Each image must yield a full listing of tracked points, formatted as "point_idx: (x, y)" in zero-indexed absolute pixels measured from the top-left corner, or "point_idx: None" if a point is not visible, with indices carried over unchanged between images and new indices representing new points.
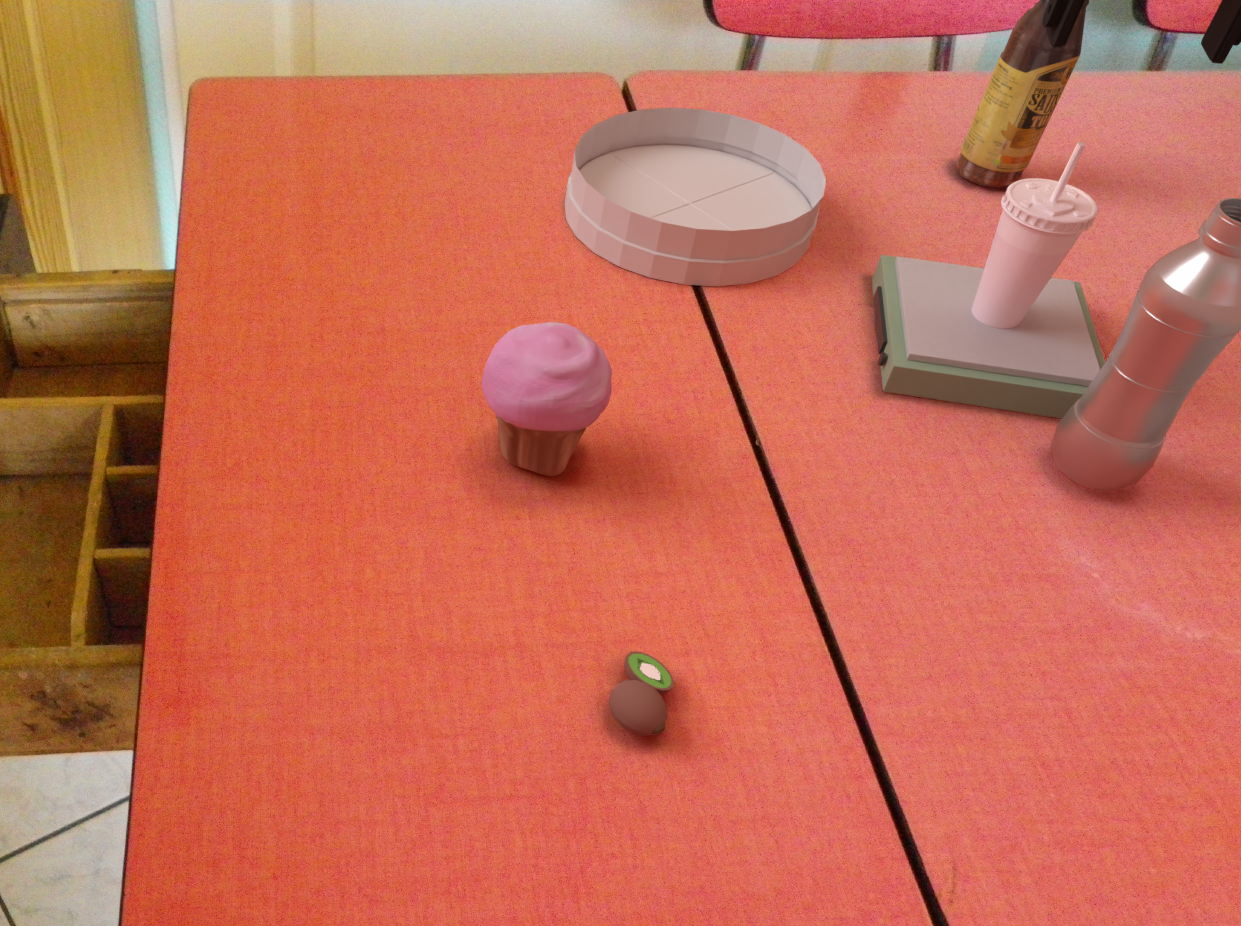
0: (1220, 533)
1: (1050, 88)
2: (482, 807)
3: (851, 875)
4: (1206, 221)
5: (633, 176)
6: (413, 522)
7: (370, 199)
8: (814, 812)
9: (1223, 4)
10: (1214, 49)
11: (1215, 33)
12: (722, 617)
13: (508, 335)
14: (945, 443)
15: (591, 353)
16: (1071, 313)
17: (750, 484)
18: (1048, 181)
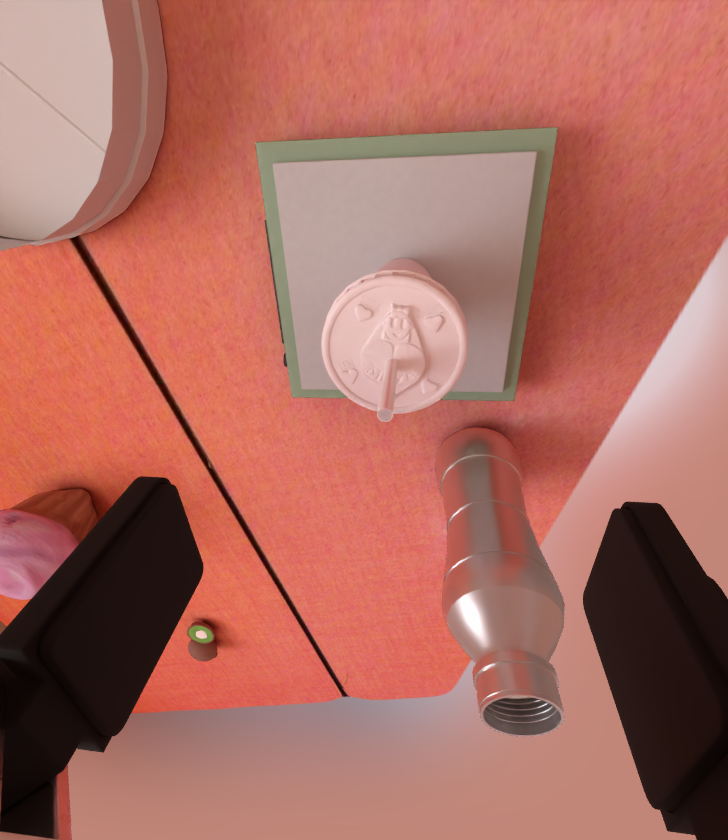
0: (565, 495)
1: None
2: (167, 667)
3: (307, 678)
4: (479, 679)
5: None
6: None
7: None
8: (290, 662)
9: (669, 645)
10: (592, 615)
11: (617, 604)
12: (228, 591)
13: None
14: (355, 438)
15: (31, 585)
16: (505, 256)
17: (216, 504)
18: (396, 286)
